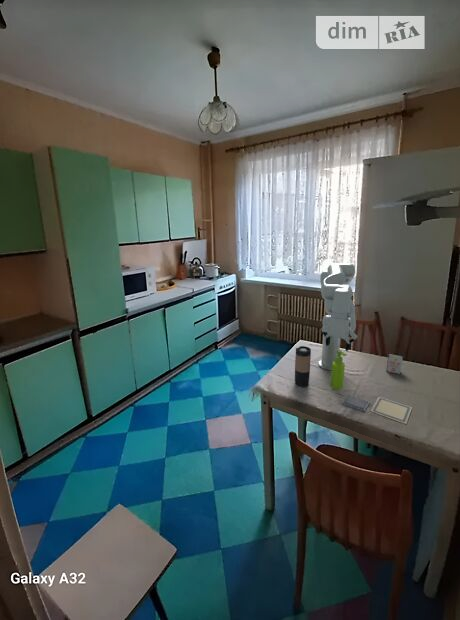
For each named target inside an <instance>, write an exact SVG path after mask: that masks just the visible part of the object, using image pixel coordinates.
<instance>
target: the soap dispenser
mask: <svg viewBox="0 0 460 620" xmlns="http://www.w3.org/2000/svg"><path fill="white" fill-rule="evenodd" d="M336 352H337V353H338V355H337V356H336V357H335V361H334V362H333V363H332V370H331V376H330V387H331V388H332V389H334V390H342V389H343V388H344V377H345V367H346V364H345V363H344V361H343V359H344V358H343V356H344V357H345V356H347V355H348V354H347V353H345V352H344V351H342V350H338V351H336Z"/></svg>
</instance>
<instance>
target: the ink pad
mask: <svg viewBox="0 0 460 620" xmlns="http://www.w3.org/2000/svg"><path fill="white" fill-rule="evenodd" d="M370 404H371V403H370V401H368V400H365V399H364V398H363V399H362V398H360V397H356V396H354V395H352V394H347V395H346V396H345V398H344V399H343V400H342V402H341V405H344V406H347V407H350V408H352V409H355V410H357V411H361V412H363V413H365V412H366V410H367V409H368V407H369V405H370Z"/></svg>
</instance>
